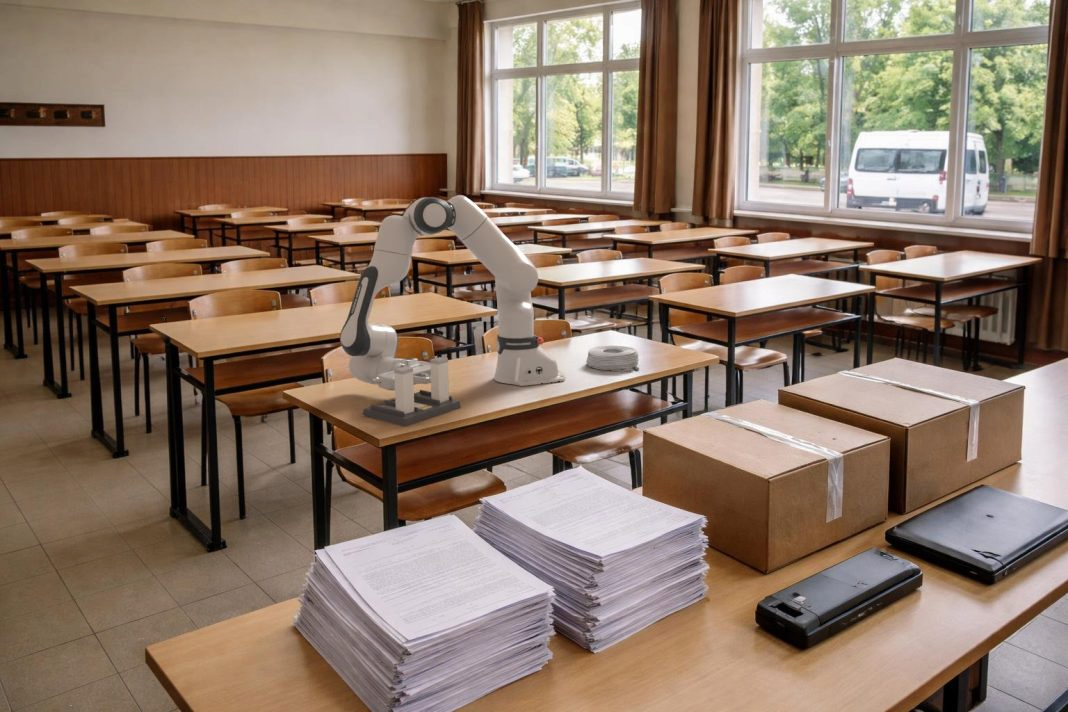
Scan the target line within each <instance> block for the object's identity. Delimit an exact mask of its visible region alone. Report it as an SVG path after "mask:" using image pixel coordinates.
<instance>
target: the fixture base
mask: <svg viewBox="0 0 1068 712" xmlns="http://www.w3.org/2000/svg"><path fill="white" fill-rule="evenodd" d="M460 408H461V400H459V399H458V400H457V399H453V396H452V395H449V400H447V401H444V402H441V403H440V400H435V399H431V391H428V390H422V389H419V391H418V392H415V393H414V411H413V412H410V413H407V414H404V412H403V411H398V410H396V402H395V399H391V400H384V402H382V403H378V404H371V405H370V406H369V407H365V408H362V411H363V413H362V414H363V415H362V416H363V417H366V416H367V418H370V419H375V420H379V421H382V420H383V421H382V422H386V421H387V422H386V423H390V422H391V424H394V423H395V425H398V424H399V426H403V427H408V426H411V425H413V424H417V423H420V422H423V421H426V420H428V418H429V419H431V418H434V417H438V416H439V415H443V414H446V413H448V412H452V411H455V410H457V409H460ZM425 419H426V420H425ZM422 420H423V421H422ZM419 421H420V422H419ZM416 422H417V423H416Z"/></svg>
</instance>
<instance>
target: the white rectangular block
mask: <svg viewBox="0 0 1068 712" xmlns="http://www.w3.org/2000/svg"><path fill="white" fill-rule="evenodd" d="M394 373H395V390H394V396H395V397H394V398H395V402H396V410H398V411H403V412H404V414H407V413H410V412H413V411H414V392H415V390H414V383H413V368H410V367H401V368H398V369H394Z"/></svg>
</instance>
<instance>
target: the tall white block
mask: <svg viewBox="0 0 1068 712" xmlns="http://www.w3.org/2000/svg"><path fill="white" fill-rule="evenodd" d="M429 363H430V366H431V383H430V392H431V399H435V400H440V403H441V402H444V401H447V400H449V396H450V392H449V391H450V389H449V387H450V386H449V385H450V383H449V380H450V379H449V358H447V357H441V356H439V357H434V358H432V359H431V358H430V361H429Z"/></svg>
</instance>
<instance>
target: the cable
mask: <svg viewBox="0 0 1068 712" xmlns="http://www.w3.org/2000/svg"><path fill="white" fill-rule="evenodd" d="M639 360H640V359H639V352H638V350H637V349H636V348H634V347H631V346H625V345H624V346H623V345H599V346H594V347H591V348H589V349H588V352H587V358H586V361H585V362H586V364H587V365H588V367H590V368H593V369H597V370H600V371H601V370H602V371H609V370H611V371H610V372H623V373H624V372H625V373H627V372H628V373H630V372H632V371H634V370H635V371H639V370H640V368H639V365H638V364H639Z"/></svg>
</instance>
